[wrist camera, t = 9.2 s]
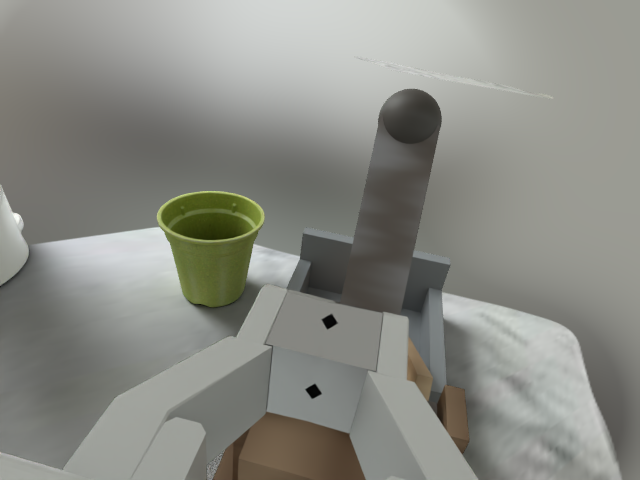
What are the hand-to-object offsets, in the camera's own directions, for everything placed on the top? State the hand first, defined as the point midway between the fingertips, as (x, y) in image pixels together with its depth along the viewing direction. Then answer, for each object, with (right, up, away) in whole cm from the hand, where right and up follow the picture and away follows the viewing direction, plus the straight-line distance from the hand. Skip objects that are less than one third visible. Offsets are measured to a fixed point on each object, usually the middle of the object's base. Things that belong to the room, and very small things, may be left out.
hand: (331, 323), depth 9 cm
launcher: (+2, -7, +18) cm, 20 cm away
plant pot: (-11, -3, +35) cm, 37 cm away
